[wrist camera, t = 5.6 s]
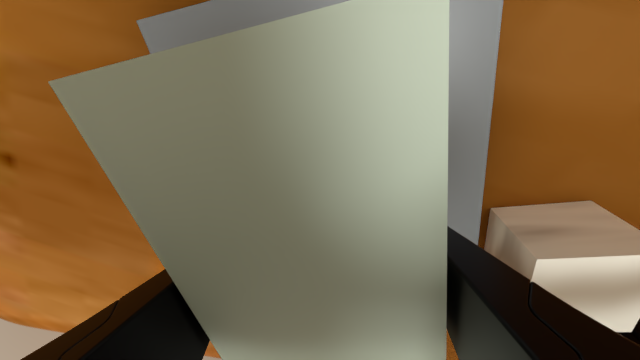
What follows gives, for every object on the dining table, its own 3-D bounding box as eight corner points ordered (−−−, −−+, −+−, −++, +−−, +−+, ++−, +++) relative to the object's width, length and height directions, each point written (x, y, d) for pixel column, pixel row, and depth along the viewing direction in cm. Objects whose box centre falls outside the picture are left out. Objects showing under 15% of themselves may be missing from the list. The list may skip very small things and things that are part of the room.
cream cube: (566, 267, 19) (631, 332, 15) (480, 270, 20) (517, 332, 16) (589, 199, 17) (677, 253, 12) (489, 207, 18) (537, 259, 13)
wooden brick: (416, 313, 12) (445, 426, 8) (284, 318, 13) (259, 418, 9) (397, 14, 7) (449, -27, 3) (183, 68, 8) (48, 81, 4)
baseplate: (470, 244, 19) (477, 254, 18) (247, 260, 22) (242, 270, 21) (498, -71, 11) (513, -83, 10) (149, 22, 14) (134, 20, 13)
